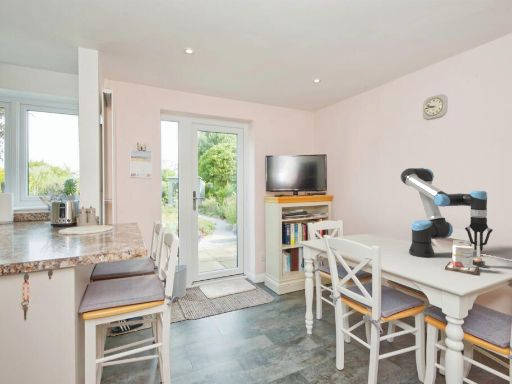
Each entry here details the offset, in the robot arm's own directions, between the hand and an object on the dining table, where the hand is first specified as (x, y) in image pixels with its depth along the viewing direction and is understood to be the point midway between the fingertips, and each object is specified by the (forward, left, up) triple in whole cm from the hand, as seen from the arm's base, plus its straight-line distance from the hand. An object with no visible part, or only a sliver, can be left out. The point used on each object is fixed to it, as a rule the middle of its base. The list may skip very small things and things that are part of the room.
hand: (478, 255), depth 160 cm
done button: (0, 0, -4) cm, 4 cm away
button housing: (0, 0, -6) cm, 6 cm away
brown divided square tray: (-6, -14, -6) cm, 16 cm away
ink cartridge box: (-6, -14, -4) cm, 16 cm away
